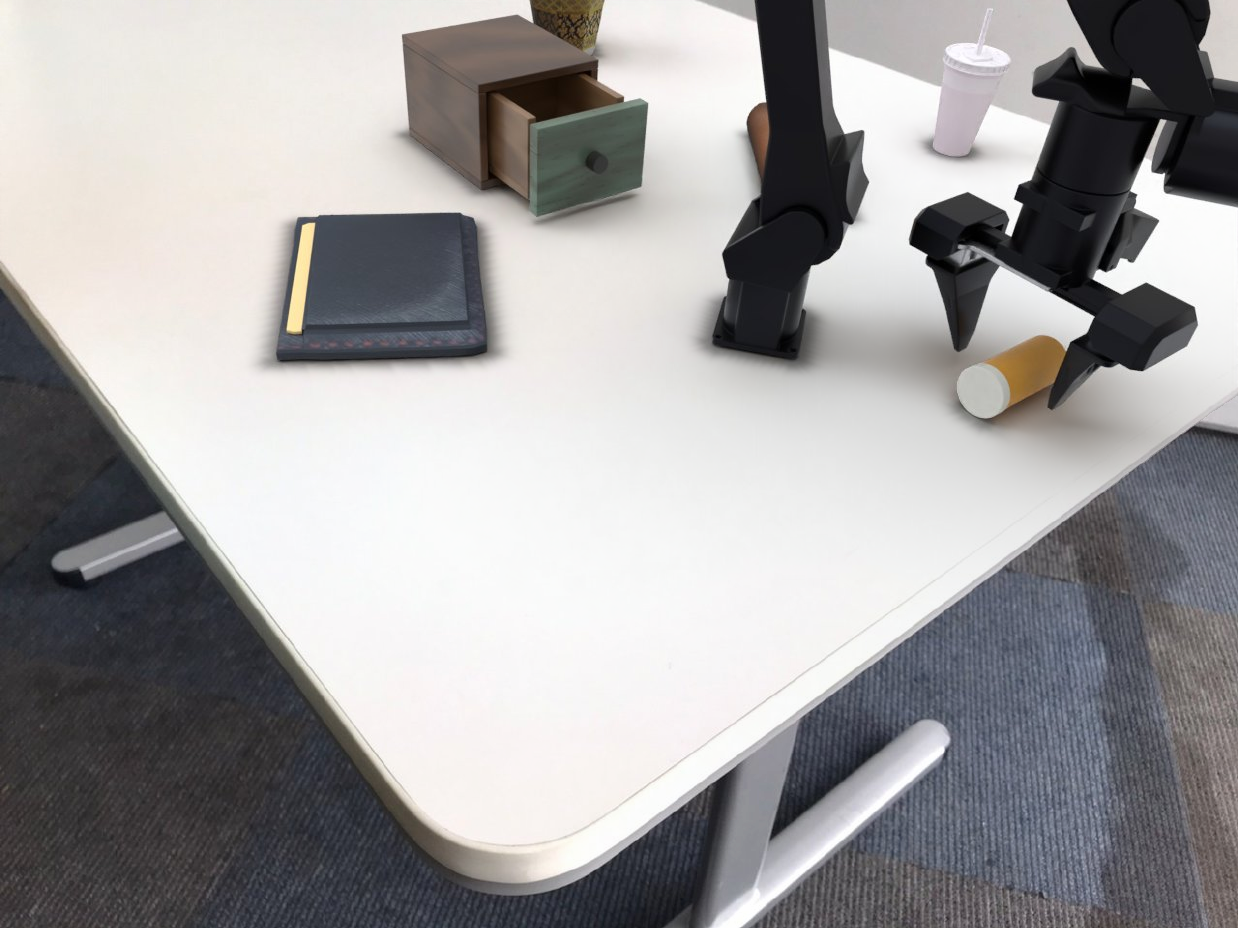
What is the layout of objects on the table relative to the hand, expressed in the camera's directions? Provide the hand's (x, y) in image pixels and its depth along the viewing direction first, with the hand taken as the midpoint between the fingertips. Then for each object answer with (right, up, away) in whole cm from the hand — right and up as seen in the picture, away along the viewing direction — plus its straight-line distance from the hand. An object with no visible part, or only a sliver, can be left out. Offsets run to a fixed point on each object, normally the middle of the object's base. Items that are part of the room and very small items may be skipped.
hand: (1005, 377), depth 73 cm
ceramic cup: (-35, +43, +47) cm, 73 cm away
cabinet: (-39, +25, +26) cm, 53 cm away
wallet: (-46, +8, +6) cm, 47 cm away
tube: (0, -1, +1) cm, 1 cm away
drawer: (-34, +20, +20) cm, 44 cm away
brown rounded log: (-11, +22, +25) cm, 35 cm away
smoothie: (+7, +26, +32) cm, 42 cm away
